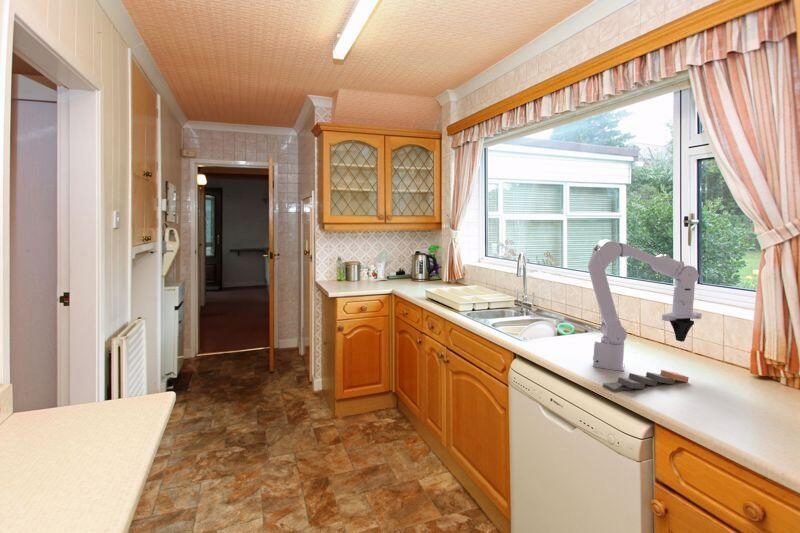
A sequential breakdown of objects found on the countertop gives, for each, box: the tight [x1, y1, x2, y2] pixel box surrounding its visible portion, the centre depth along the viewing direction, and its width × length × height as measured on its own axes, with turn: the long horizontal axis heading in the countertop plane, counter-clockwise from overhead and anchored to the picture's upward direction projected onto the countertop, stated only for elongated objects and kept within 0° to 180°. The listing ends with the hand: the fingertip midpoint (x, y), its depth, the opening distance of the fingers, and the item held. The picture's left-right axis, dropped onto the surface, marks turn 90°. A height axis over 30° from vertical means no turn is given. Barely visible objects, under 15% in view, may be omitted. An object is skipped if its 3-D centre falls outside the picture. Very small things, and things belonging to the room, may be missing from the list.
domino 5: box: [659, 369, 690, 383], centre depth 138 cm, size 2×4×7 cm
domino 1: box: [602, 381, 634, 393], centre depth 132 cm, size 2×4×7 cm
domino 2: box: [616, 376, 646, 390], centre depth 131 cm, size 2×4×7 cm
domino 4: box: [645, 371, 676, 386], centre depth 136 cm, size 2×4×7 cm
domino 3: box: [627, 372, 658, 387], centre depth 135 cm, size 2×4×7 cm
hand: (680, 340), depth 147 cm, fingers closed
